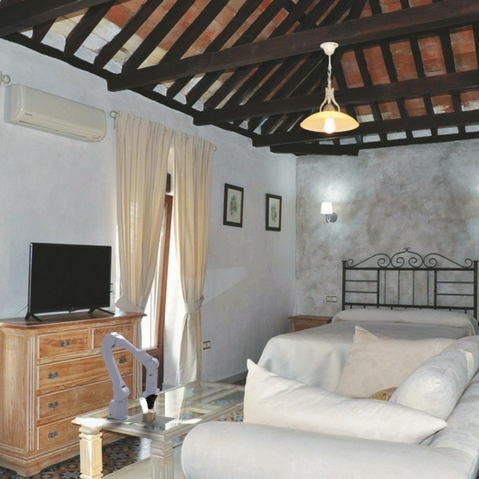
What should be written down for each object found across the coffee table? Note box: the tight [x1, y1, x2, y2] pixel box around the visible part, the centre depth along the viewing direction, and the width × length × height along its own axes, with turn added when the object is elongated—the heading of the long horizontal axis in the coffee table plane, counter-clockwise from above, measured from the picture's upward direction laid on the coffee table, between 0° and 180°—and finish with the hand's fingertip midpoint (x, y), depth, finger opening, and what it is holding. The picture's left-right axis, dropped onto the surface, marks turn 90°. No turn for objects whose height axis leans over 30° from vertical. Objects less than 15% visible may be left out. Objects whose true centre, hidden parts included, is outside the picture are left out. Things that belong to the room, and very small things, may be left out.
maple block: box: [142, 409, 157, 422], centre depth 291 cm, size 4×4×7 cm
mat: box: [124, 412, 177, 428], centre depth 290 cm, size 20×18×1 cm
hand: (150, 409), depth 292 cm, fingers closed
